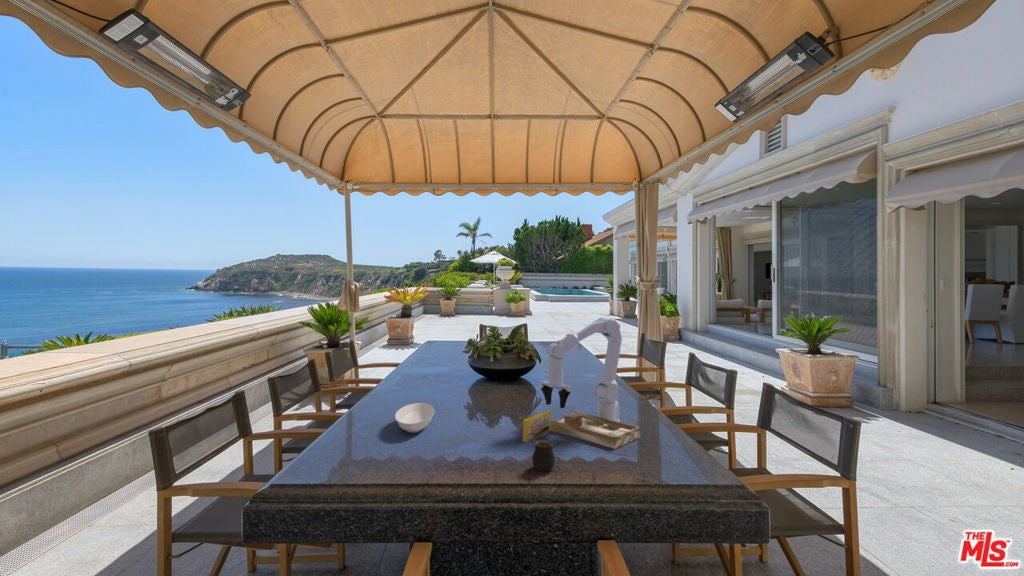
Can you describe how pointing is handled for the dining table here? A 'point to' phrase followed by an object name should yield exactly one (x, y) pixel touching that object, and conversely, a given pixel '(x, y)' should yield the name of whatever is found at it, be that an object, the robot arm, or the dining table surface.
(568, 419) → the block
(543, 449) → the mate gourd
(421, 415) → the bowl
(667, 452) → the dining table surface
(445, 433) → the dining table surface
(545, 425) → the candy box
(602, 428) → the box
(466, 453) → the dining table surface
